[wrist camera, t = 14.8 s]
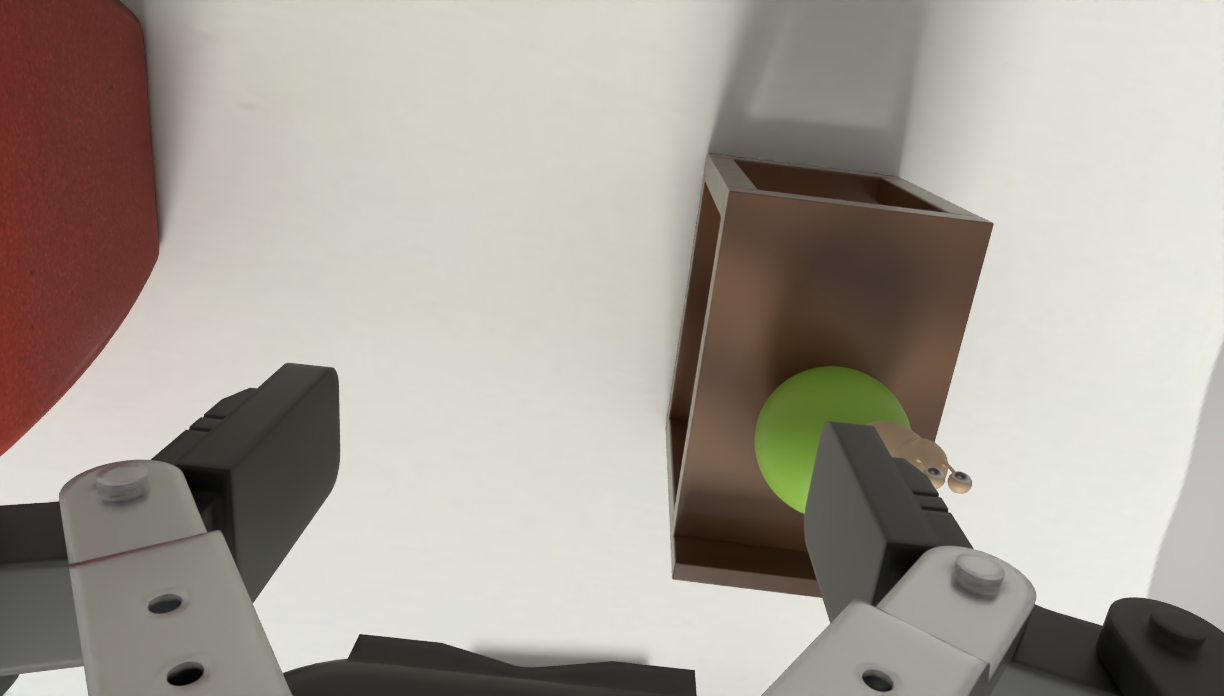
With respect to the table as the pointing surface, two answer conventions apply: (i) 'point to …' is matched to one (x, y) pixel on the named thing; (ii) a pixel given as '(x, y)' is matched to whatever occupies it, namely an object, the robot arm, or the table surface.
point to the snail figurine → (844, 398)
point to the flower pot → (69, 195)
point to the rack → (801, 340)
